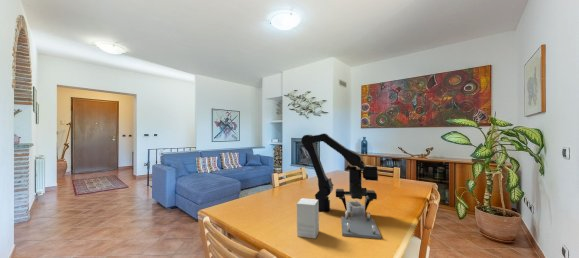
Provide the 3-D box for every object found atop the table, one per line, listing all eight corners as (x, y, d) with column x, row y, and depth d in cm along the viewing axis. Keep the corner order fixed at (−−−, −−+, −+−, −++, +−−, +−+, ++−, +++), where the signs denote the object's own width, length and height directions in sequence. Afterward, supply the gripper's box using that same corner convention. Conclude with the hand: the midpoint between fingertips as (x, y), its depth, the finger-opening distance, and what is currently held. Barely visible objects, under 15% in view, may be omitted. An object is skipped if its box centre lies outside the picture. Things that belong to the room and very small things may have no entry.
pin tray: (342, 235, 85) (342, 225, 85) (341, 218, 102) (341, 209, 102) (381, 239, 83) (381, 228, 83) (373, 221, 99) (373, 212, 99)
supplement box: (319, 230, 90) (319, 199, 90) (315, 239, 83) (315, 205, 83) (301, 228, 92) (301, 197, 92) (296, 236, 85) (296, 203, 85)
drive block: (352, 218, 103) (352, 207, 103) (346, 210, 113) (346, 200, 113) (365, 218, 103) (365, 207, 103) (358, 210, 113) (358, 200, 113)
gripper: (335, 182, 102) (335, 216, 102) (379, 184, 98) (379, 219, 98) (335, 177, 113) (335, 208, 113) (374, 178, 109) (374, 210, 109)
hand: (355, 211), depth 108 cm, fingers open, 8 cm apart
